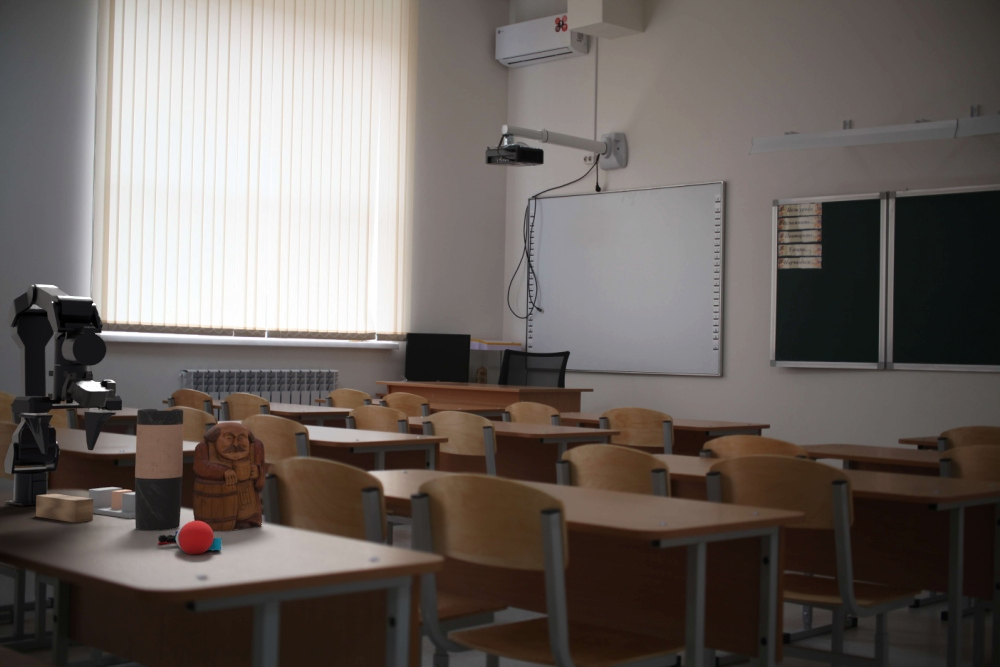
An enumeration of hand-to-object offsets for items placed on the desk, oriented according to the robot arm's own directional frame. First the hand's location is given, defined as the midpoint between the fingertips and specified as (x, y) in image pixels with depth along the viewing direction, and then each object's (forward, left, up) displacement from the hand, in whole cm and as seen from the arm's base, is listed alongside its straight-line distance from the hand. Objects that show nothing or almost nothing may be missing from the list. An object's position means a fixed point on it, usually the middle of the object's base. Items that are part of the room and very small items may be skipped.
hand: (68, 451), depth 178 cm
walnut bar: (0, 0, -12) cm, 12 cm away
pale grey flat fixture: (+2, +11, -12) cm, 16 cm away
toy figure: (+43, -8, -12) cm, 45 cm away
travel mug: (+22, +3, -12) cm, 25 cm away
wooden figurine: (+32, +10, -12) cm, 35 cm away
